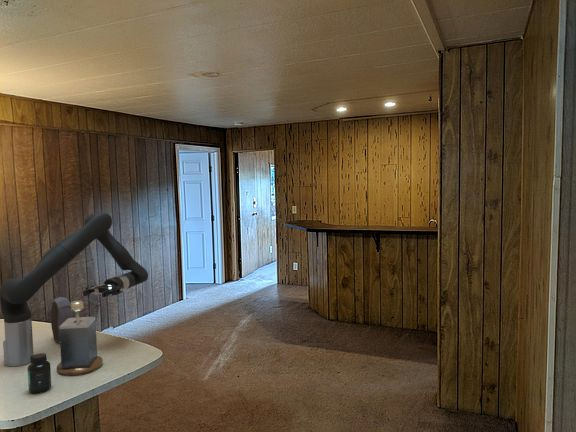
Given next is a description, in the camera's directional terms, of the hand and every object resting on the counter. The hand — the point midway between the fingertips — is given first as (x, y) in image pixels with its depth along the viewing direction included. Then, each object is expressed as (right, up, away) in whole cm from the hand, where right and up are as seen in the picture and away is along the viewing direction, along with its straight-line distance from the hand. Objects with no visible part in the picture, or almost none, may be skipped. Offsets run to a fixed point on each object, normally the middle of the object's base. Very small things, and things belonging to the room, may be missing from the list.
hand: (93, 294), depth 177 cm
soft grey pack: (-22, -25, +21) cm, 39 cm away
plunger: (-2, -24, -8) cm, 25 cm away
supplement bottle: (-7, -28, -26) cm, 39 cm away
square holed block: (-2, -27, -8) cm, 28 cm away
